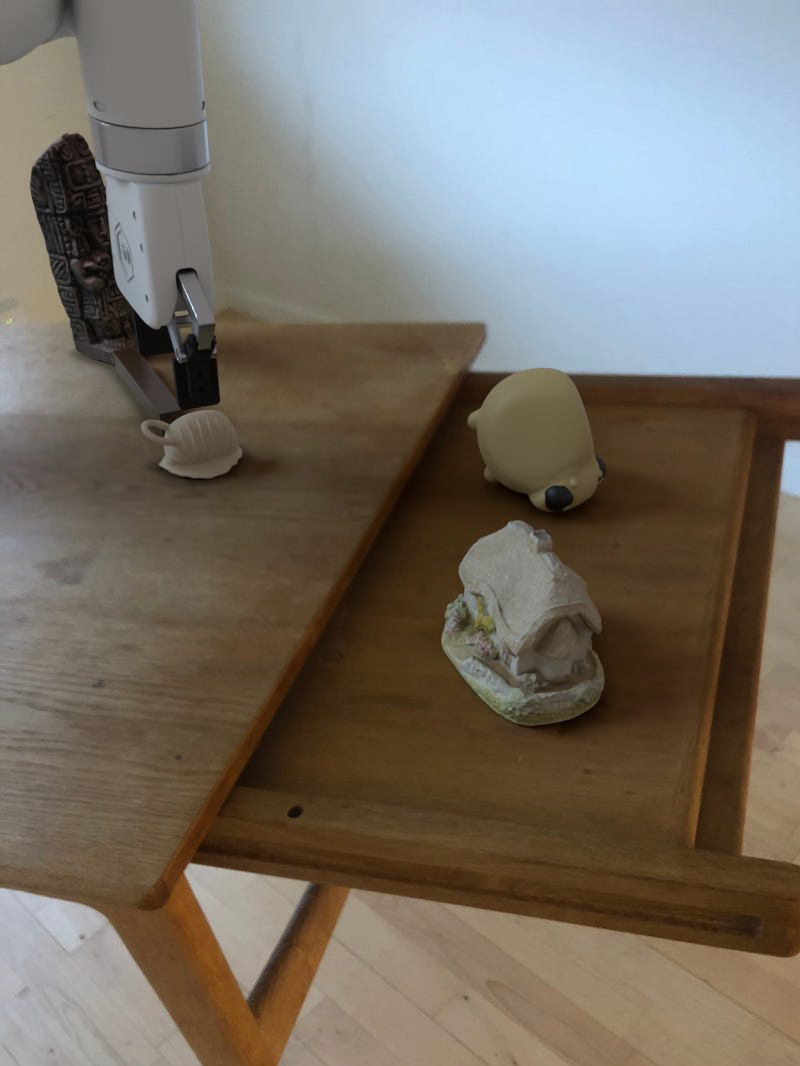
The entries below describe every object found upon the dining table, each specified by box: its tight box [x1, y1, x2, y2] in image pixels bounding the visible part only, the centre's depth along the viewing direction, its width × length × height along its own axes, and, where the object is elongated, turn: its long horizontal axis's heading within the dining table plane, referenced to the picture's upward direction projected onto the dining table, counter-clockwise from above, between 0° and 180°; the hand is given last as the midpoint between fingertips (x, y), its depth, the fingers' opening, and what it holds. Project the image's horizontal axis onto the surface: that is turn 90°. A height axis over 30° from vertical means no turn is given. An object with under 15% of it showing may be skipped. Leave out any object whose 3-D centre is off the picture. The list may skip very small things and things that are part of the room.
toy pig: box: [467, 367, 607, 513], centre depth 80 cm, size 10×12×11 cm
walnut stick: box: [112, 347, 186, 437], centre depth 89 cm, size 2×14×2 cm, turn 32°
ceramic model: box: [441, 519, 606, 727], centre depth 63 cm, size 14×11×10 cm
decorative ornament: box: [140, 409, 243, 480], centre depth 80 cm, size 4×8×5 cm, turn 121°
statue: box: [29, 132, 138, 365], centre depth 91 cm, size 7×7×20 cm
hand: (178, 378), depth 76 cm, fingers open, 9 cm apart
